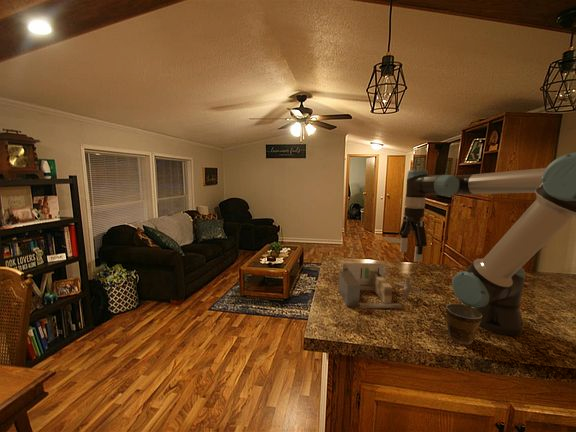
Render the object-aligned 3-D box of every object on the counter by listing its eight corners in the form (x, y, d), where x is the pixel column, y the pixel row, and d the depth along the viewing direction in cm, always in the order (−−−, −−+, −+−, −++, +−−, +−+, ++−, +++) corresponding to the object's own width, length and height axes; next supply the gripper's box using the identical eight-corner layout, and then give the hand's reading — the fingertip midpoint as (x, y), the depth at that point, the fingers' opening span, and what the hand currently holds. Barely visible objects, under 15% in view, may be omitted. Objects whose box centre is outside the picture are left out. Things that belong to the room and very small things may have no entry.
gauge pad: (391, 303, 113) (392, 287, 112) (384, 303, 113) (385, 287, 112) (378, 287, 128) (379, 273, 127) (371, 287, 128) (373, 273, 127)
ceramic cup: (484, 342, 88) (488, 313, 87) (467, 352, 84) (471, 321, 82) (444, 323, 100) (448, 297, 98) (428, 330, 95) (431, 303, 93)
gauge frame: (401, 308, 110) (404, 280, 108) (347, 307, 109) (348, 279, 108) (383, 287, 130) (385, 263, 128) (337, 287, 129) (338, 262, 127)
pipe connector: (415, 306, 112) (418, 283, 111) (390, 299, 118) (392, 277, 117) (421, 297, 120) (423, 276, 118) (397, 291, 126) (399, 270, 124)
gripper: (440, 211, 101) (434, 266, 104) (409, 204, 126) (406, 248, 129) (420, 211, 101) (415, 266, 104) (393, 203, 126) (390, 248, 129)
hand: (410, 256), depth 117 cm, fingers open, 13 cm apart
